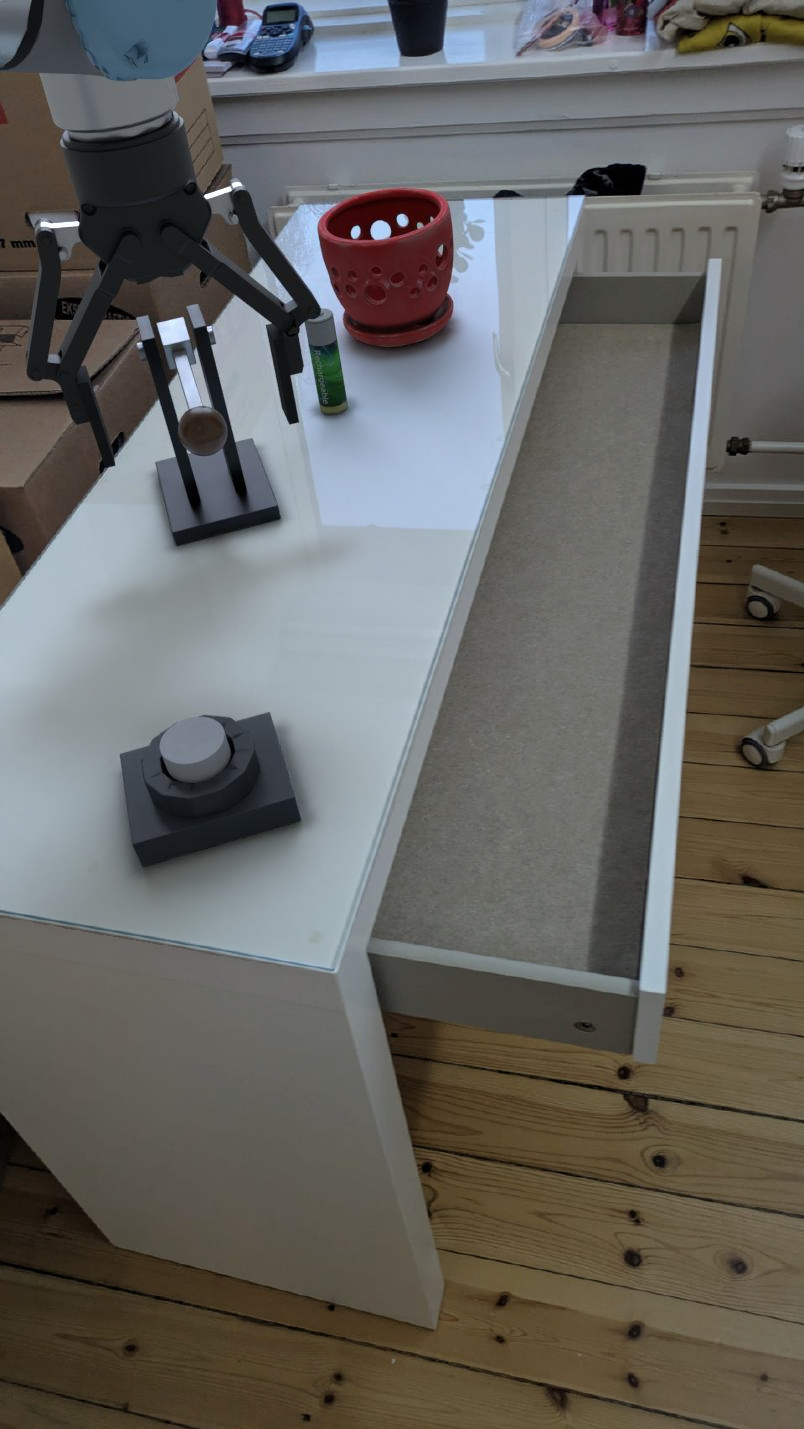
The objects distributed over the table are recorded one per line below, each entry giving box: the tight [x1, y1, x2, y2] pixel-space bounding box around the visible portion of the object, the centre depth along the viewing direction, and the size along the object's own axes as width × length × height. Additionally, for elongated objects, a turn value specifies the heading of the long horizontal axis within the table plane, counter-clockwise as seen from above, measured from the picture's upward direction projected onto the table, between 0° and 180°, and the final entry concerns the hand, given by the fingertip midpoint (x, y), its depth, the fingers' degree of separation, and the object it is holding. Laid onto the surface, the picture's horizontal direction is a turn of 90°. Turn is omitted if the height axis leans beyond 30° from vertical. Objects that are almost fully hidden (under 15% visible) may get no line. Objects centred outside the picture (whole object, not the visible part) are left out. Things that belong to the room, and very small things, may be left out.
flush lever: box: [156, 316, 228, 456], centre depth 83 cm, size 13×4×4 cm, turn 16°
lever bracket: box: [135, 303, 282, 546], centre depth 90 cm, size 12×9×16 cm
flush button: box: [160, 716, 231, 783], centre depth 67 cm, size 4×4×2 cm
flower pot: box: [316, 187, 455, 348], centre depth 110 cm, size 13×13×12 cm
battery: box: [304, 307, 349, 416], centre depth 101 cm, size 3×3×10 cm
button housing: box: [119, 711, 302, 868], centre depth 68 cm, size 10×8×4 cm
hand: (200, 437), depth 80 cm, fingers open, 13 cm apart
